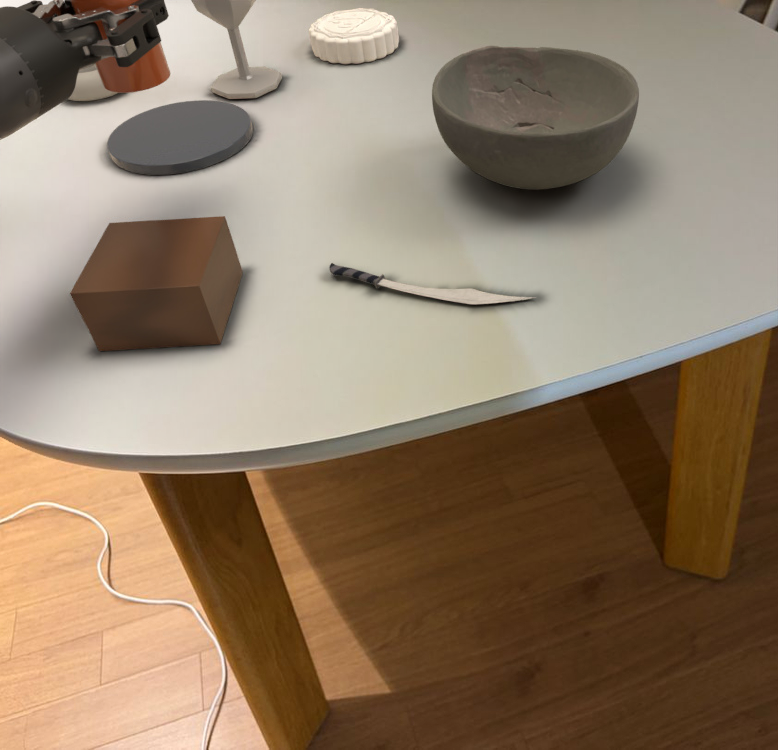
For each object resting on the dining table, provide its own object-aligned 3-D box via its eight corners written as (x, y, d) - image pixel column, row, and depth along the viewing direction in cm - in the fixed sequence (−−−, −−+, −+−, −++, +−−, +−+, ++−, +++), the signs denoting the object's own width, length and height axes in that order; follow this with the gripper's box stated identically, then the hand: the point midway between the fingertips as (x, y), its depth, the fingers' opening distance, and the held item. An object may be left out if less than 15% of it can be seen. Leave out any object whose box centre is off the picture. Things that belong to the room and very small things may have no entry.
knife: (321, 284, 71) (319, 275, 71) (332, 268, 73) (330, 259, 72) (530, 315, 67) (530, 306, 66) (537, 297, 69) (537, 288, 68)
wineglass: (237, 69, 107) (190, -110, 93) (294, 76, 105) (255, -107, 90) (199, 97, 101) (142, -90, 87) (259, 104, 99) (210, -86, 84)
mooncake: (344, 26, 117) (340, 1, 114) (415, 37, 113) (412, 11, 110) (295, 57, 109) (289, 30, 107) (369, 70, 105) (365, 42, 103)
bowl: (481, 245, 75) (475, 147, 68) (415, 150, 89) (404, 60, 82) (669, 196, 80) (681, 99, 73) (579, 113, 94) (581, 25, 87)
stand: (99, 351, 66) (69, 293, 62) (133, 278, 73) (109, 222, 69) (220, 344, 66) (199, 285, 62) (243, 272, 73) (225, 215, 69)
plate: (91, 179, 87) (87, 169, 86) (133, 113, 98) (130, 103, 98) (239, 170, 87) (236, 160, 86) (263, 105, 99) (261, 96, 98)
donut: (72, 76, 108) (44, 107, 100) (62, 50, 106) (32, 80, 98) (146, 72, 108) (123, 103, 100) (138, 46, 106) (113, 76, 98)
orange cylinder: (93, 94, 72) (46, -25, 65) (114, 68, 76) (72, -47, 69) (161, 91, 72) (120, -29, 65) (177, 64, 76) (141, -51, 69)
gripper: (49, 33, 56) (186, -40, 67) (-110, 19, 59) (46, -48, 71) (91, 134, 61) (212, 50, 72) (-58, 116, 64) (80, 38, 76)
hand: (129, 2), depth 71 cm, fingers closed on orange cylinder, 6 cm apart
